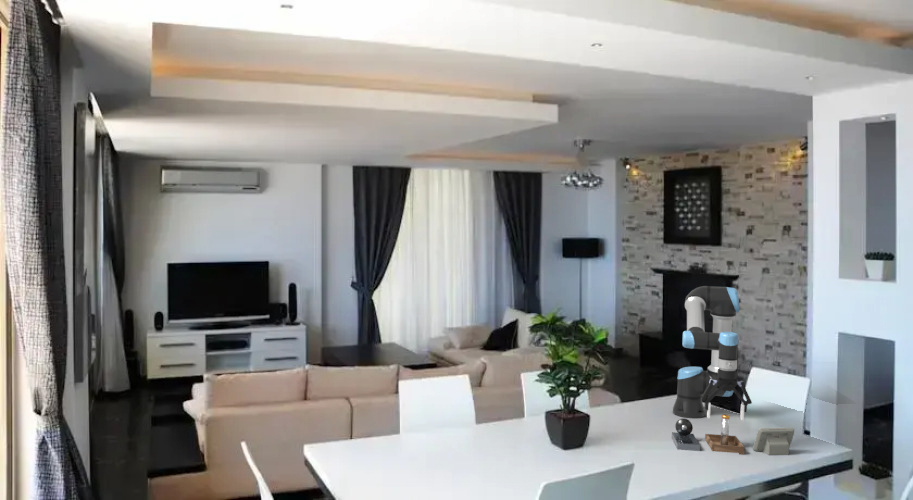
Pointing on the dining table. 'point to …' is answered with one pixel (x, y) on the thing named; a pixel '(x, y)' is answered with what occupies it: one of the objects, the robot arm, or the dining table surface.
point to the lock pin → (724, 429)
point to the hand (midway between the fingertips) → (725, 418)
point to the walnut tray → (732, 446)
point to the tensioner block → (685, 436)
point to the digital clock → (774, 440)
